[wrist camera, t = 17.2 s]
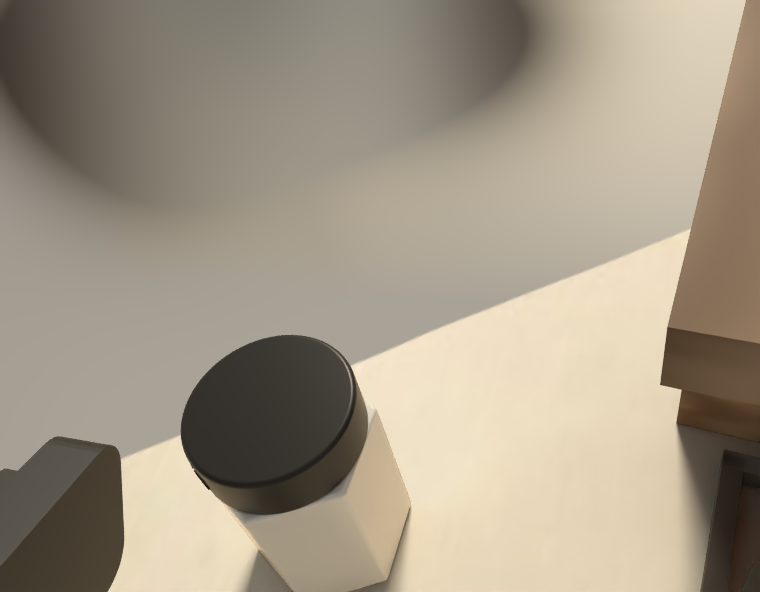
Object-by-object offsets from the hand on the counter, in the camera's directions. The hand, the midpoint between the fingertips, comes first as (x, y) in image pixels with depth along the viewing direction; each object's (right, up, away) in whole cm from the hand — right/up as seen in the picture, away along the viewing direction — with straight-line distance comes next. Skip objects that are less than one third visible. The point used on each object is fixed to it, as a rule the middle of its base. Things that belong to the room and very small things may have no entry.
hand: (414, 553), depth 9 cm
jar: (-3, -10, +30) cm, 32 cm away
